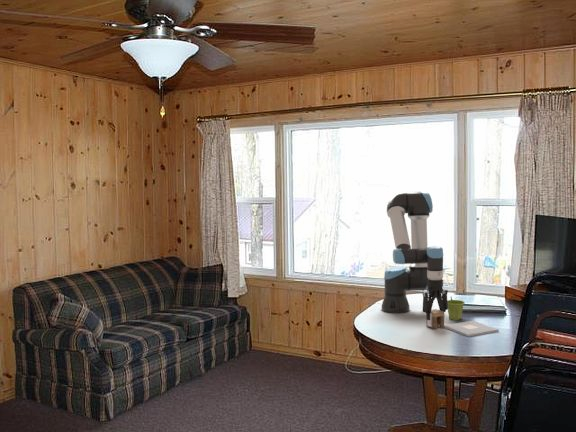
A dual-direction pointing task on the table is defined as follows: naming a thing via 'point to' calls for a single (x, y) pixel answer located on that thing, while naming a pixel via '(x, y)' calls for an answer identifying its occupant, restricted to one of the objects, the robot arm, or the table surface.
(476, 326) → the mat
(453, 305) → the plant pot
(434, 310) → the notched wooden block
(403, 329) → the table surface
